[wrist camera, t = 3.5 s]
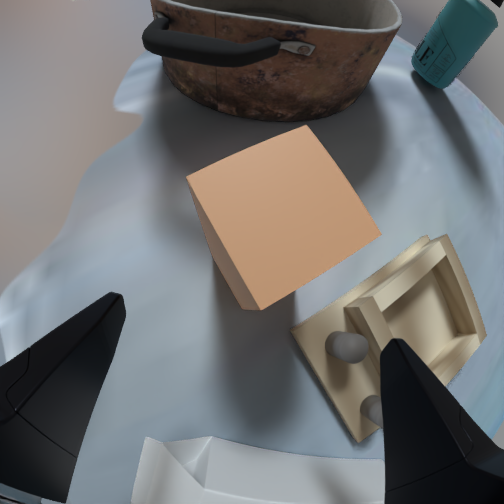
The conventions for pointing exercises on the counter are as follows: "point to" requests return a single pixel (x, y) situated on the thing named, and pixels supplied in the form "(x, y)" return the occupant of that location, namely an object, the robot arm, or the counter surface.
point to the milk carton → (251, 475)
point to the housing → (392, 328)
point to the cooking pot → (272, 52)
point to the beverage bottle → (454, 40)
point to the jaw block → (278, 216)
